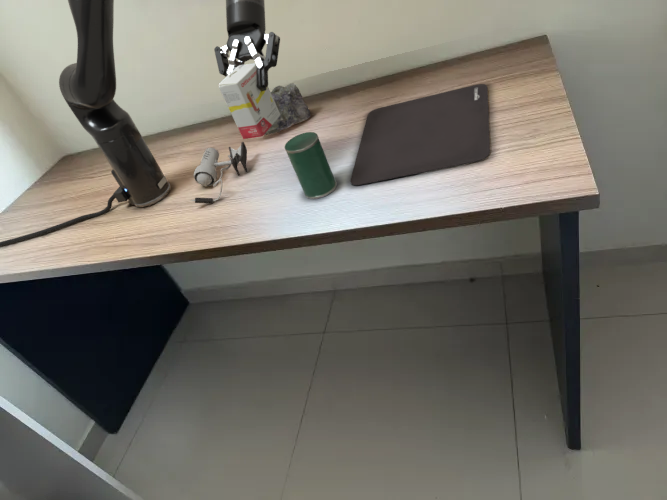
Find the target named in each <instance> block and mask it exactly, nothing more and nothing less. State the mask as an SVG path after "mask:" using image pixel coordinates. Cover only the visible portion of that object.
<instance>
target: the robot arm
mask: <svg viewBox="0 0 667 500" xmlns="http://www.w3.org/2000/svg"><path fill="white" fill-rule="evenodd" d="M67 3H68V6H69V10H70V12H71V13H70V14H71V16H72V19H73V23H74V26H75V30H76V37H77V52H76V62H73V63H71V64H68V65H67V66H65V67H64V68H63V70H62V71H61V73H60V75H59V77H58V87H59V90H60V91H59V92H60V93H61V96H62V98H63V99H64V101H65V103H66V104H67V106H68V107H69V109H70V111H71V112H72V113H73V115H74V116H75V118H76V119H77V120H78V122H79V124H80V125H81V127H82V128H83V129H84V130H85V131H86V132H87V133H88V134H89V135H90V136H91V137H92V138H93V141H94V142H95V143H96V145H97V146H98V148H99V149H100V151H101V153H102V154H103V156H104V158H105V159H106V161H107V163H108V164H109V165H110V167H111V168H112V169H111V175H112V176H113V178H114V180H115V181H116V183H117V184H118V188H116V190H115V191H114V192H113V193H112V195H111V196H110V197H109V198H108V200H107V203H106V204H107V205H106V207H105V208H103V209H102V210H99V211H97V212H93V213H88V214H83V215H81V216H77V217H74V218H72V219H70V220H66V221H64V222H62V223H58V224H56V225H52V226H50V227H47V228H45V229H41V230H38V231H35V232H31V233H27V234H24V235H21V236H17V237H14V238H10V239H6V240H2V241H0V247H2V246H6V245H10V244H14V243H18V242H22V241H25V240H28V239H31V238H35V237H38V236H42V235H45V234H47V233H50V232H54V231H57V230H60V229H62V228H65V227H68V226H71V225H73V224H76V223H78V222H81V221H84V220H88V219H92V218H93V219H94V218H97V217H100V216H102V215H104V214H106V213H109V211H110V210H111V209H112V207H113V202H114V201H115V199H116V202H117V203H124V202H127V201H128V202H129V204H130V205H131V206H135V207H136V208H145V207H149V206H152V205H155V204H156V203H158V202H160V201H161V200H162V199H164V198H165V197H167V195H168V194H170V191H171V190H172V185H171V183H170V182H169V181H168V178H167V176H166V175H165V174H164V171H162V168H161V167H160V165H159V163H158V161H157V160H156V158H155V157H154V155H153V153H152V151H151V149H150V147H149V146H148V144H147V143H146V141H145V139H144V137H143V135H142V134H141V132H140V131H139V128H138V127H137V126H136V124H135V122H134V120H133V118H132V116H131V115H130V114H129V113H128V112H127V111H126V110H125V109H123V108H122V107H121V106H120V105H119V104H118V103H117V102H116V101H115V99H114V98H115V96H116V91H117V75H116V74H117V73H116V62H115V61H116V60H115V52H114V51H115V50H114V49H115V47H114V19H115V15H114V14H115V13H114V12H115V0H67ZM225 18H226V33H227V36H228V37H227V41H226V44H224V45H223V46H219V45H218V46H217V45H216V46H215V47H214V56H215V59H216V64H217V68H218V72H219V74H220V75H221V76H223V77H224V78H225V77H227V75H229V74H230V73H231V72H232V71H233V70H234V69H235V68H236V67H237V66H239V65H245V64H246V63H245V62H248V61H250V60H254V63H256V65H257V67H258V68H259V69H257V87H258V89H259V90H261V91H265V90H266V87H268V88H269V70H270V69H271V68H272V67H273V68H276V67H277V65H278V58H279V52H280V45H281V44H280V43H281V37H280V36H279V35H277V34H276V33H275V32H273V31H269V32H268V33H266V30H267V29H266V6H265V0H225ZM265 45H266V50H265V53H264V52H263V50H264V47H265ZM229 53H230V55H229Z"/></svg>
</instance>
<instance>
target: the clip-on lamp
mask: <svg viewBox="0 0 667 500" xmlns="http://www.w3.org/2000/svg"><path fill="white" fill-rule="evenodd" d="M228 151H229V154H228V155H227V157H228V158H229V160H225V161H219V157H220V153H219V151H218V149H217V148H215V147H207V148H205V150H204V152H203V154H202V157H201V161H200V162H199V163H200V164H199V165H197V166H196V168H195V169H194V171H193V179H194V181H195V183H197V184H198V185H200V186H202V187H203V186H204V187H211V186H213V188H214V187H216V186H217V185H218V184H219V183H221V184H220V185H221V186H220V192H219V195H218V197H217V198H215V199H214V198H213V197H194V199H191V200H190V202H194V203H195V204H213V203H214V202H217V201H218V200H219V199H220V198H221V195H222V193H223V192H222V191H223V180H222V179H223V177H224V173H223V172H224V171H227V170H229V169H230V168H231V166H232V167H233V169H234V171H235V173H236V175H237V176H238V177H240V176H241V173H240V171H239V168H238V166H239V164H241V166H242V168H243V169H244V171H245V173H248V172H249V170H248V169H249V168H248V166H247V159H248V149H247V146H246V144H245V142H244V141H241V142H240V146H239V147H238V148H237V149H234V148H233V147H231V146H228ZM225 166H226V167H225ZM218 167H221V169H220V177H219V179H218V172H217V170H216V169H217V168H218ZM217 179H218V180H217Z"/></svg>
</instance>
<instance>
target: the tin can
mask: <svg viewBox="0 0 667 500" xmlns="http://www.w3.org/2000/svg"><path fill="white" fill-rule="evenodd" d="M284 149H285V150H284V151H285V152H286V154H287V157H288V158H289V159H288V160H289V161H290V163H291V165H292V168H293V171H294V173H295V175H296V178H297V179H298V182H299V184H300V186H301V189H302V191H303V194H304V196H305V198H307V199H310V200H317V199H321V198H325V197H327V196H329V194H331V193H333V192H334V191H335V189H336V188H337V185H338V183H337V181H336V178H335V176H334V173H333V171H332V168H331V166H330V162H329V161H328V158H327V156H326V153H325V150H324V148H323V145H322V143H321V140H320V137H319V135H318V133H316V132H315V131H306V132H302V133H299V134H297V135H295V136H293V137H292V138H290V139H289V140H287V141H286V143H285V144H284Z"/></svg>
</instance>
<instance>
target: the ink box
mask: <svg viewBox="0 0 667 500" xmlns="http://www.w3.org/2000/svg"><path fill="white" fill-rule="evenodd" d="M257 69H259V68H258V67H257V65H256V63H255V62H253V63H244V65H239V66H237V67H236V68H235V69H234V70H233V71H232V72H231V73H230V74H229V75H227V77H225V76H224V78H223V79H222V80H221V81H220V82H219V83H218V90H219V91H220V93H221V96H222V98H223V100H224V102H225V104H226V107H227V108H228V110H229V112H230V115H231V116H232V119H233V120H234V123H235V125H236V127H237V129H238V132H239V134H240V135H241V138H242V139H243V140H246V139H247V140H248V139H255V138H262V137H264V136H265V135H264V134H265V133H266V132H267V131H268V129H269V128H270V127H271V126H272V125H273V123H274V122H275V121H276V120H277V119H278V117H279V116H280V113H279V110H278V108H277V106H276V104H275V101H274V99H273V97H272V95H271V92H272V91H271V90H270V88H269V86H268V87H266V90H265V91H261V90H259V89H258V87H257Z"/></svg>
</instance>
